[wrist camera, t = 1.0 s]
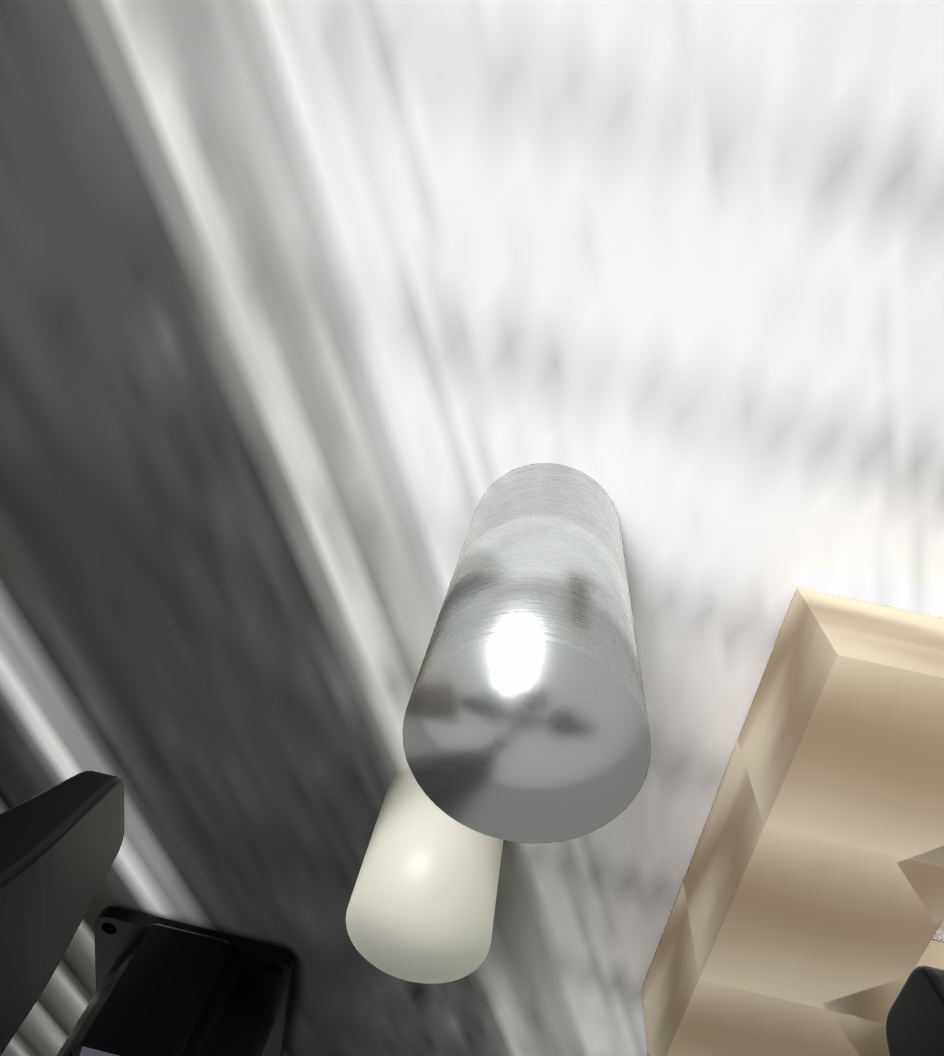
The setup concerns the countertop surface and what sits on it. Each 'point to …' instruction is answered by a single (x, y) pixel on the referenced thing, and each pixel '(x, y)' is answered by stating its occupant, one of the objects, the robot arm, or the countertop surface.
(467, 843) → the short cream pin
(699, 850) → the hole board
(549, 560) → the tall steel pin
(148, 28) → the countertop surface
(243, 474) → the countertop surface
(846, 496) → the countertop surface
